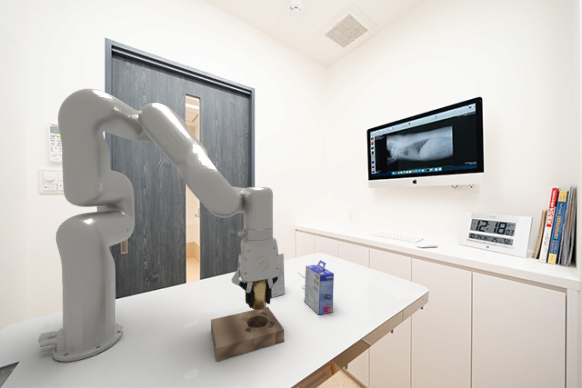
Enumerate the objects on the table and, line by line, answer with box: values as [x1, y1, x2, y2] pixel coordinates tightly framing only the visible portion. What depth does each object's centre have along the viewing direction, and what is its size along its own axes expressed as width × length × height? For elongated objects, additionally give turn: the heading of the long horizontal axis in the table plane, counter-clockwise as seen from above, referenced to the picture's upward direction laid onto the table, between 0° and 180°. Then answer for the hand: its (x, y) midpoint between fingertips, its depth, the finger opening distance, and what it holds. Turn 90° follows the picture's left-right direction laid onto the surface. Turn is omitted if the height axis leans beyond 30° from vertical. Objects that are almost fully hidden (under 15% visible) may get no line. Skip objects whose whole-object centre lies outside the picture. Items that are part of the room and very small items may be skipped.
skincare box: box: [272, 251, 286, 298], centre depth 83 cm, size 8×6×15 cm
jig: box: [210, 306, 285, 362], centre depth 58 cm, size 16×12×3 cm
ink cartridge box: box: [304, 259, 335, 316], centre depth 73 cm, size 10×6×14 cm, turn 24°
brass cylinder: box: [251, 279, 267, 310], centre depth 59 cm, size 4×4×7 cm
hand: (258, 302), depth 59 cm, fingers closed on brass cylinder, 4 cm apart
